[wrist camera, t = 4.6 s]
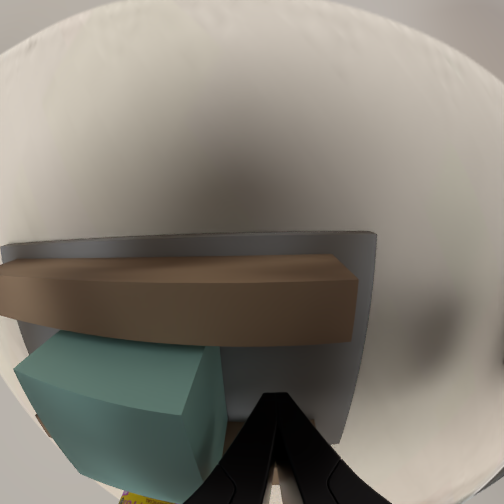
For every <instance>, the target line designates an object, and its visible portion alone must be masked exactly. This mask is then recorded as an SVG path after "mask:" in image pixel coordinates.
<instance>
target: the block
mask: <svg viewBox="0 0 504 504" xmlns="http://www.w3.org/2000/svg"><path fill="white" fill-rule="evenodd" d="M13 370H14V372H15V374H16V376H17V378H18V380H19V382H20V384H21V386H22V388H23V390H24V392H25V394H26V396H27V397H28V399H29V401H30V403H31V405H32V406H33V408H34V410H35V411H36V413H37V415H38V416H39V418H40V420H41V421H42V423H43V424H44V426H45V428H46V429H47V431H48V432H49V434H50V435H51V436H52V438H53V439H54V441H55V442H56V444H57V445H58V446H59V448H60V449H61V450H62V452H63V453H64V454H65V456H66V457H67V458H68V459H69V461H70V462H71V463H72V464H73V465H74V467H75V468H76V469H77V470H78V472H79V473H80V474H82V475H84V476H87V477H89V478H91V479H94V480H96V481H99V482H102V483H104V484H107V485H110V486H113V487H116V488H119V489H122V490H125V491H128V492H131V493H135V494H138V495H142V496H146V497H149V498H154V499H158V500H162V501H167V502H172V503H177V504H182V503H184V502H185V501H186V500H187V499H188V498H189V497H190V496H191V495H192V494H193V493H194V492H195V491H196V490H197V489H198V488H199V487H200V486H201V485H202V483H203V482H204V481H205V480H206V478H207V477H208V476H209V475H210V473H211V472H212V471H213V469H214V468H215V466H216V465H218V462H219V461H220V459H221V458H222V454H223V447H224V441H225V434H226V427H227V421H228V416H227V409H226V401H225V392H224V384H223V375H222V366H221V356H220V346H197V345H179V344H165V343H153V342H143V341H133V340H125V339H116V338H109V337H102V336H95V335H89V334H83V333H77V332H71V331H66V330H60V331H59V332H57V333H56V334H55V335H53V336H52V337H51V338H50V339H48V340H47V341H46V342H45V343H44V344H42V345H41V346H40V347H39V348H37V349H36V350H35V351H34V352H33V353H31V354H30V355H29V356H28V357H27V358H25V359H24V360H23V361H22V362H21V363H19V364H18V365H17V366H16V367H15V368H14V369H13Z"/></svg>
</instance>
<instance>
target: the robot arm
mask: <svg viewBox="0 0 504 504" xmlns="http://www.w3.org/2000/svg"><path fill="white" fill-rule="evenodd" d="M275 461H276V466H277V472H278V478H279V484H280V490H281V495H282V501H283V504H392V503H391V502H389V501H388V500H386V499H385V498H384V497H382V496H381V495H380V494H379V493H377V492H376V491H375V490H373V489H372V488H371V487H370V486H369V485H367V484H366V483H365V482H364V481H363V480H362V479H360V478H359V477H358V476H357V475H356V474H355V473H354V472H353V471H352V469H351V468H350V467H349V466H348V465H347V464H346V463H345V462H344V461H343V460H342V459H341V457H340V456H339V455H338V454H337V453H336V451H335V450H334V449H333V448H332V447H331V446H330V444H329V443H328V442H327V441H326V440H325V438H324V437H323V436H322V435H321V434H320V432H319V431H318V430H317V429H316V427H315V426H314V425H313V424H312V423H311V421H310V420H309V419H308V418H307V416H306V415H305V414H304V413H303V411H302V410H301V409H300V408H299V406H298V405H297V404H296V402H295V401H294V400H293V399H292V397H291V396H290V395H289V393H287V392H276V393H275V392H265V393H263V394H262V395H261V397H260V399H259V400H258V402H257V404H256V405H255V407H254V409H253V410H252V412H251V414H250V415H249V417H248V418H247V420H246V422H245V423H244V425H243V426H242V428H241V429H240V431H239V433H238V434H237V436H236V437H235V439H234V440H233V442H232V443H231V445H230V446H229V448H228V449H227V451H226V452H225V454H224V455H223V457H222V458H221V459H220V461H219V462H218V465H216V466H215V468H214V469H213V471H212V472H211V473H210V475H209V476H208V477H207V478H206V480H205V481H204V482H203V483H202V485H201V486H200V487H199V488H198V489H197V490H196V491H195V492H194V493H193V494H192V495H191V496H190V497H189V498H188V499H187V500H186V501H185V502H184V503H182V504H269V500H270V494H271V488H272V482H273V475H274V468H275Z"/></svg>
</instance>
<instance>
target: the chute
mask: <svg viewBox="0 0 504 504" xmlns="http://www.w3.org/2000/svg"><path fill="white" fill-rule="evenodd" d="M376 242H377V234H375V233H373V232H370V231H335V232H258V233H217V234H185V235H158V236H135V237H114V238H95V239H77V240H60V241H45V242H31V243H17V244H7V245H4V246H1V247H0V249H1V256H2V261H3V264H2V265H0V315H1V316H5V317H8V318H12V319H16V320H17V322H18V325H19V328H20V331H21V334H22V337H23V340H24V343H25V345H26V348H27V350H28V353H29V355H30V354H31V353H33V352H34V351H35V350H36V349H37V348H39V347H40V346H41V345H42V344H44V343H45V342H46V341H47V340H48V339H50V338H51V337H52V336H53V335H55V334H56V333H57V332H59V331H60V330H66V331H71V332H77V333H83V334H89V335H95V336H102V337H109V338H116V339H125V340H133V341H143V342H153V343H165V344H179V345H197V346H220V356H221V366H222V375H223V384H224V392H225V401H226V409H227V416H228V421H227V427H226V434H225V441H224V447H223V454H222V457H223V455H224V454H225V452H226V451H227V449H228V448H229V446H230V445H231V443H232V442H233V440H234V439H235V437H236V436H237V434H238V433H239V431H240V429H241V428H242V426H243V425H244V423H245V422H246V420H247V418H248V417H249V415H250V414H251V412H252V410H253V409H254V407H255V405H256V404H257V402H258V400H259V399H260V397H261V395H262V394H263V393H265V392H275V393H276V392H287V393H289V395H290V396H291V397H292V399H293V400H294V401H295V402H296V404H297V405H298V406H299V408H300V409H301V410H302V411H303V413H304V414H305V415H306V416H307V418H308V419H309V420H310V421H311V423H312V424H313V425H314V426H315V427H316V429H317V430H318V431H319V432H320V434H321V435H322V436H323V437H324V438H325V440H326V441H327V442H328V443H329V444H330V445H331V444H338V443H339V442H340V439H341V436H342V433H343V430H344V427H345V423H346V420H347V416H348V413H349V409H350V406H351V402H352V398H353V394H354V390H355V386H356V382H357V377H358V373H359V368H360V364H361V359H362V354H363V349H364V343H365V338H366V332H367V326H368V319H369V312H370V305H371V297H372V289H373V280H374V269H375V257H376ZM35 416H36V418H37V419H38V421H39V423H40V424H41V426H42V427H43V429H44V430H45V432H46V433H47V435H48V436H49V437H51V438H52V436H51V435H50V434H49V432H48V431H47V429H46V428H45V426H44V424H43V423H42V421H41V420H40V418H39V416H38V415H37V414H36V415H35ZM272 485H280V484H279V478H278V472H277V466H276V461H275V468H274V475H273V482H272Z"/></svg>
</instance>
